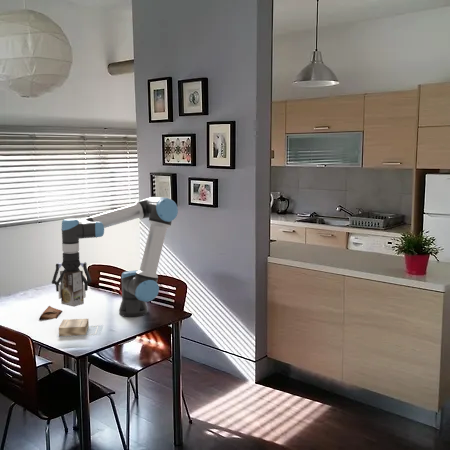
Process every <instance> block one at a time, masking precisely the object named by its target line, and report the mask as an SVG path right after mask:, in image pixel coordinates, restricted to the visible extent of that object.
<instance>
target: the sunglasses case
mask: <svg viewBox="0 0 450 450" xmlns="http://www.w3.org/2000/svg"><path fill="white" fill-rule="evenodd" d="M61 313H63V310H61V309H58V308H55V307H52V306H51V305H49V306H47V308H46V309H45V310H44V311H43V312H42V313H41V315H40V316H39V317H38V321H45V320H46V321H47V320H48V321H49V320H54V319H55V320H56V319H58V317H59V316H60V314H61Z"/></svg>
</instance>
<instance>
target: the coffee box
mask: <svg viewBox="0 0 450 450" xmlns="http://www.w3.org/2000/svg"><path fill="white" fill-rule="evenodd" d="M63 271H64V270H61V271H60V270H59V275H60V276H61V274H62V273H63ZM81 275H82V276H84V270H80V271H77V272H76V271H70V272H68V271H66V272H65V273H64V276H63V278H62V279H61V281H60V284H61V299H60V301H61V303H60V304H61V305H65V306H69V307H77V306H78V307H79V306H81V305H84V302H85V298H83V284H84V282H83V281H82V276H81ZM60 276H59V277H60Z"/></svg>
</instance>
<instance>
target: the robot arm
mask: <svg viewBox="0 0 450 450" xmlns="http://www.w3.org/2000/svg"><path fill="white" fill-rule="evenodd" d="M178 214H179V209H178V205H177V203H176V202H175V201H174V200H173V199H171V198H169V197H162V196H161V197H160V196H150V197H146V198H144V199H141V200H138V201H135V202H134V204H131V205H127V206H123V207H120V208H116V209H114V210H113V209H112V210H109V211H106V212H102V213H99V214H95V215H92V216H88V217H85V218H66V219H65V218H64V219H63V220H62V221H61V240H62V242H61V249H62V250H61V251H62V262H56V264H55V270H54V273H53V277H52V281H51V284H52V285H55V290H56V293H58V299H59V300H61V282H60V281H61V279H62V278H63V276H64V273H65V272H66V271H68V272H70V271H76V272H77V271H81V270H80V268H79V267H80V266H81V267H82V268H83V273H84V274H85V276H86V277H85V276H84V275H83V276H82V275H81V276H82V281H83V298H84V299H85V298H86V296H87V295H86V292H88V290H89V289H88V288H89V287H88V285H89V284H91V282H92V278H91V275H90V272H89V270H88V267H87V262H86V261H85V262H81V261H80V240H81V239H90V238H91V239H93V238H94V239H95V238H96V239H97V238H102V237H103V236H104V234H105V229H106V228H109V227H112V226H116V225H119V224H122V223H125V222H126V223H127V222H129V221H133V220H136V219H139V220H143V219H148V222H149V224H150V226H149V230H148V235H147V239H146V242H145V247H144V251H143V254H142V255H143V256H142V259H141V264H140V268H139V269H138V270H129V271H123V272H122V273H121V278H120V280H121V296H122V298H121V302H120V306H119V310H118V314H119V315H120V316H122V317H127V318H135V317H136V318H137V317H141V316H145V315H147V314H148V310H149V309H148V305H147V302H151V301H153V300H155V299H156V298H157V296H158V295H159V292H160V286H159V284H158V280H159V276H158V274H157V270H158V267H159V262H160V258H161V254H162V250H163V248H164V247H163V246H164V241H165V237H166V234H167V230H168V228H170V227H171V226H172V222H173V221H174V220H176V219H177V215H178ZM62 267H63V270H62V271H63V273H62V274H61V276H59V278H58V279H57V277H58V274H59V272H60V269H61V268H62Z"/></svg>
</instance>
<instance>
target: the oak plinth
mask: <svg viewBox="0 0 450 450" xmlns="http://www.w3.org/2000/svg"><path fill="white" fill-rule="evenodd" d="M89 326H90V324H89V318H71V319H68V318H67V319H63V320H61V323H60V325H59V327H58V333H59V336H71V337H75V336H74V335H86V332H87V330H88V327H89Z"/></svg>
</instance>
